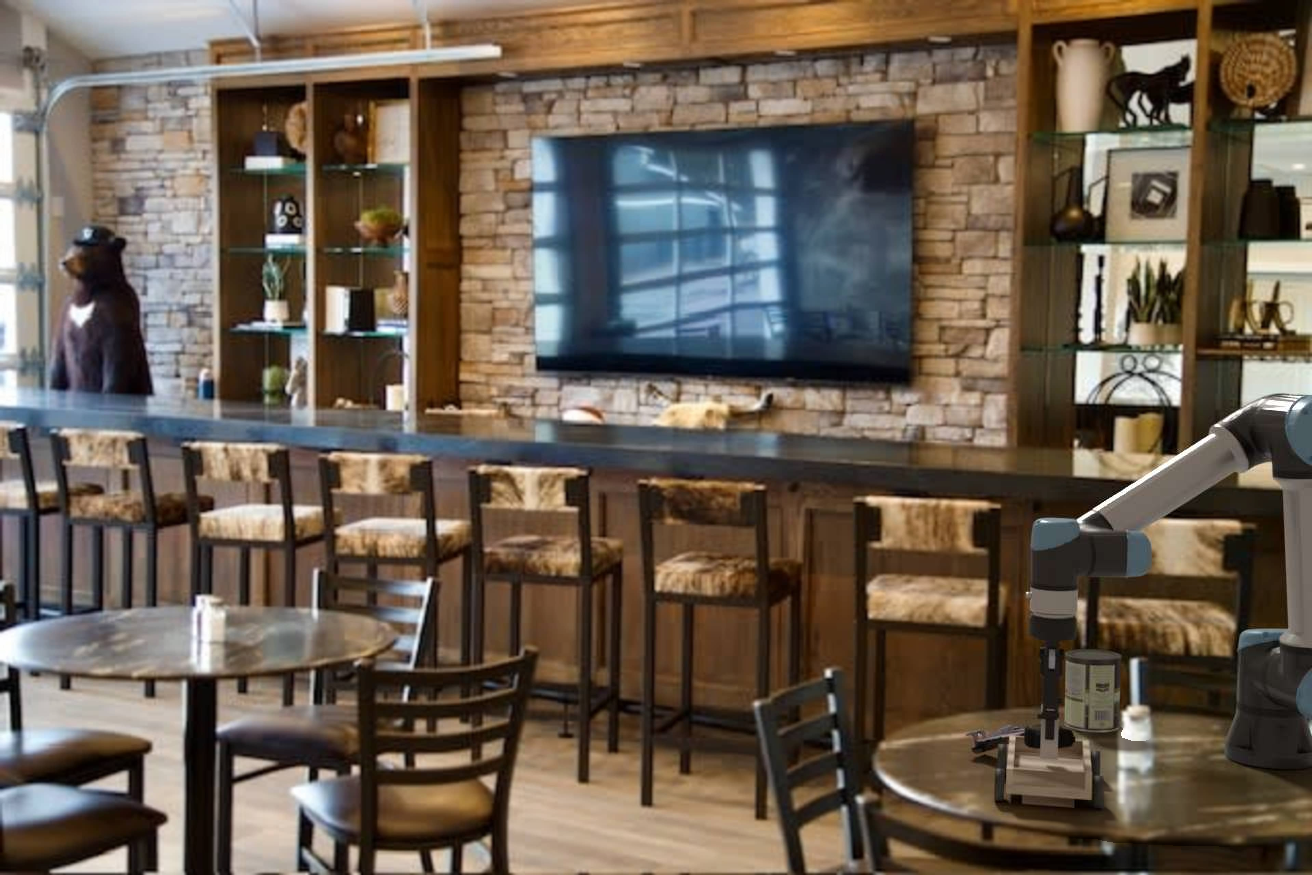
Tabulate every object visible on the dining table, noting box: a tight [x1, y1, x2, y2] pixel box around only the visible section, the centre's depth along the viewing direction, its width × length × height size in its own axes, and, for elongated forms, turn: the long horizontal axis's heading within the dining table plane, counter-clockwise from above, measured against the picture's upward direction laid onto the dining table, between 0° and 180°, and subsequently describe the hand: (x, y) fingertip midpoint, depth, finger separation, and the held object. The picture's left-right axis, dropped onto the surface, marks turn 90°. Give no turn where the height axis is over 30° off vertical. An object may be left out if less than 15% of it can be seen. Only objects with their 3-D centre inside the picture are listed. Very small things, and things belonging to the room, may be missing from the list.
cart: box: [993, 735, 1105, 810], centre depth 264 cm, size 22×17×6 cm
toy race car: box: [965, 724, 1025, 755], centre depth 282 cm, size 13×6×4 cm, turn 42°
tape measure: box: [1024, 723, 1076, 749], centre depth 265 cm, size 7×7×4 cm
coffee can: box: [1064, 648, 1123, 733], centre depth 307 cm, size 10×10×14 cm
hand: (1048, 751), depth 264 cm, fingers closed on tape measure, 9 cm apart
